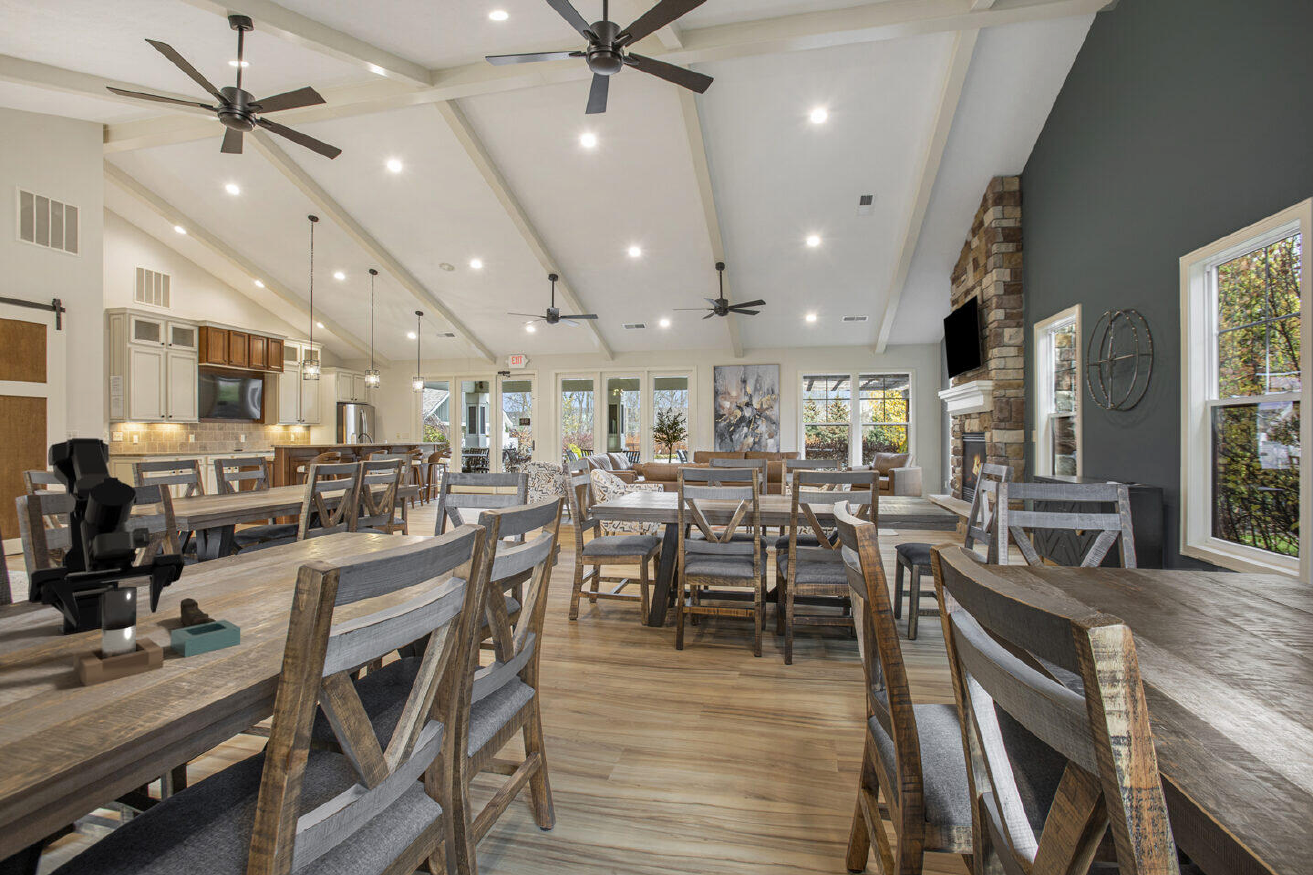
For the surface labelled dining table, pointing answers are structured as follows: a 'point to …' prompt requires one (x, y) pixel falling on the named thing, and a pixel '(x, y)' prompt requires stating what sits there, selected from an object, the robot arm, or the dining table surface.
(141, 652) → the frame
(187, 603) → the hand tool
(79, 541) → the robot arm
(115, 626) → the grey and white cylinder
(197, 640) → the socket block
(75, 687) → the dining table surface
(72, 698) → the dining table surface
